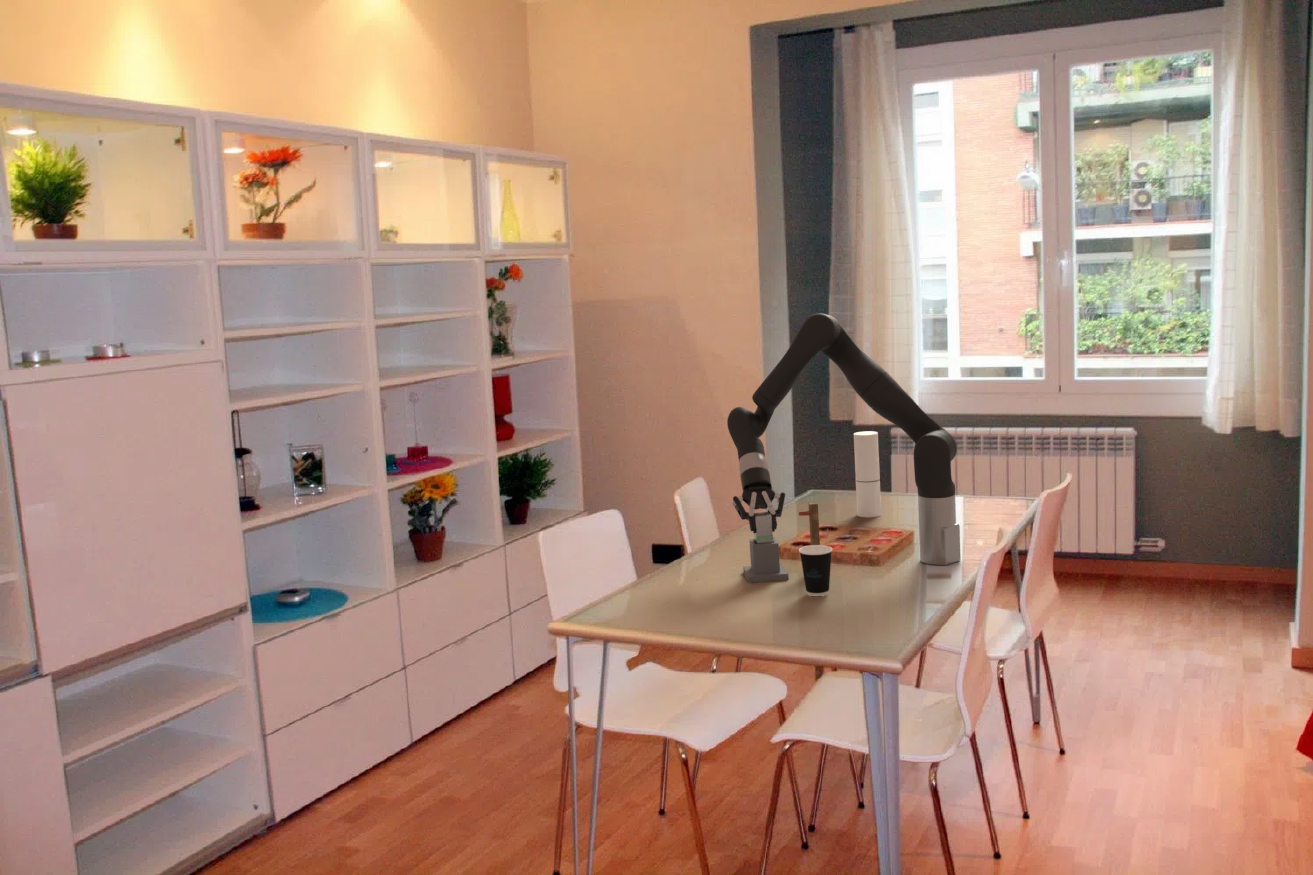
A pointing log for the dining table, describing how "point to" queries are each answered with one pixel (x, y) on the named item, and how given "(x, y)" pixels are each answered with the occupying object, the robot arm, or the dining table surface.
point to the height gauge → (813, 522)
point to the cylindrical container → (867, 474)
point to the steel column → (763, 528)
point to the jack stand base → (765, 563)
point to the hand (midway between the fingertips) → (764, 530)
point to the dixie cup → (816, 568)
